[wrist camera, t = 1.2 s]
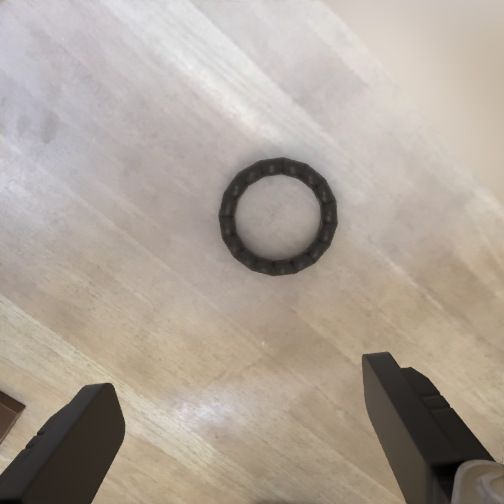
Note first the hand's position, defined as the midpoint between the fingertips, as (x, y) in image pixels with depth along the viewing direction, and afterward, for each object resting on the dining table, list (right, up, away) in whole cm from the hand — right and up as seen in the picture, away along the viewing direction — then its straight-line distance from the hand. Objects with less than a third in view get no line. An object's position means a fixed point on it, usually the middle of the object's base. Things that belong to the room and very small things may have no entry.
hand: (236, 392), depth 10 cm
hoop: (+3, +7, +14) cm, 16 cm away
